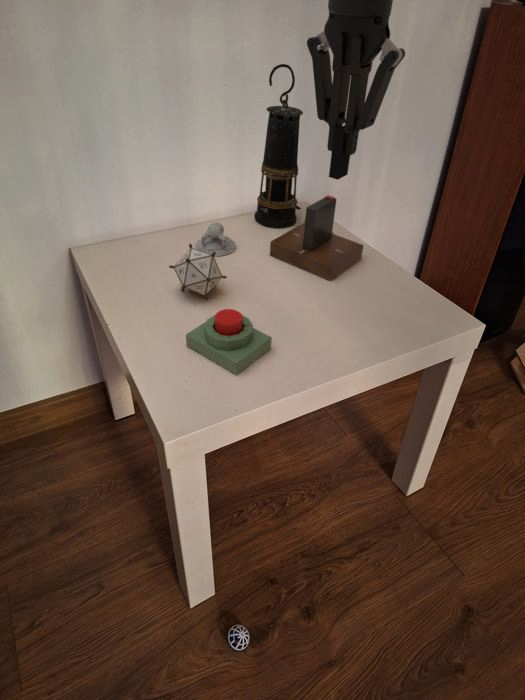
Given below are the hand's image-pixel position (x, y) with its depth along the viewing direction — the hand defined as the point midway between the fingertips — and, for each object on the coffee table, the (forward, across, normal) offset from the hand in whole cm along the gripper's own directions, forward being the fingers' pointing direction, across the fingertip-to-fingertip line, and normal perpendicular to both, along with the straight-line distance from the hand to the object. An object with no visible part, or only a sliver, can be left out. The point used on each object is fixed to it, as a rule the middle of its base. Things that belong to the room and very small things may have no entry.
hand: (338, 175), depth 76 cm
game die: (+22, +18, +11) cm, 31 cm away
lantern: (+22, +26, -22) cm, 40 cm away
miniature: (+22, +27, -4) cm, 35 cm away
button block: (+22, +5, +19) cm, 30 cm away
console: (+22, +10, -13) cm, 28 cm away
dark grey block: (+19, +10, -13) cm, 25 cm away
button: (+19, +5, +19) cm, 27 cm away
